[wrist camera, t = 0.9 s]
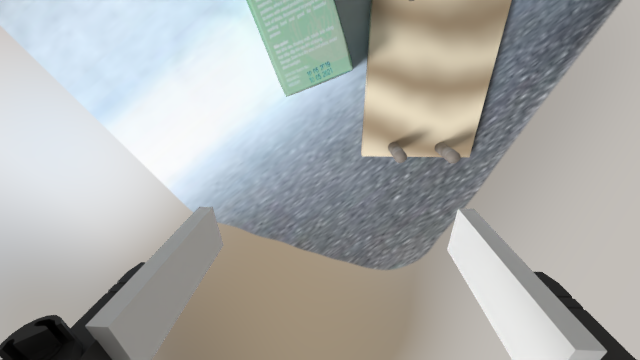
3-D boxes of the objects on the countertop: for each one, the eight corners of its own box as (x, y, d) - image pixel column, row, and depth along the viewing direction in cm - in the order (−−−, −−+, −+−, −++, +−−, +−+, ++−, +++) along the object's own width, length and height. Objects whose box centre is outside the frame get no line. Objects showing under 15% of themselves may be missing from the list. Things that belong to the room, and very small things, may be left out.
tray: (372, -18, 25) (380, -39, 20) (510, -23, 24) (553, -46, 19) (361, 153, 33) (365, 167, 28) (464, 154, 32) (487, 168, 27)
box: (310, -68, 24) (299, -123, 17) (352, 70, 29) (356, 71, 22) (247, -32, 25) (214, -69, 18) (297, 93, 30) (285, 100, 23)
